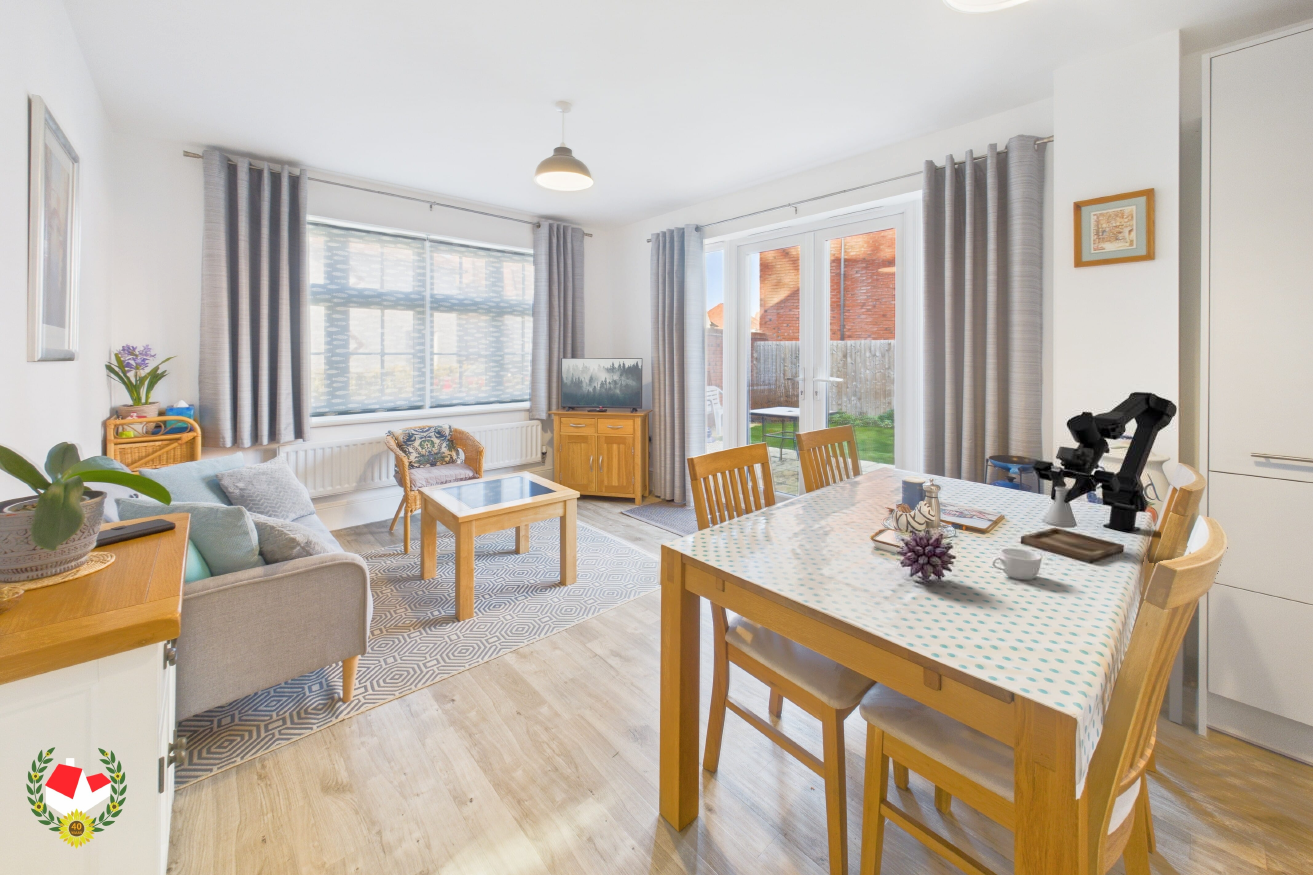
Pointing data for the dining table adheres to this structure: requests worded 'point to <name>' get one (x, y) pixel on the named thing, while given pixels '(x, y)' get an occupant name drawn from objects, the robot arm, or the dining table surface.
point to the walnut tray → (1072, 545)
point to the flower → (926, 554)
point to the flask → (1060, 511)
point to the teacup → (1019, 563)
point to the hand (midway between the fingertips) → (1058, 500)
